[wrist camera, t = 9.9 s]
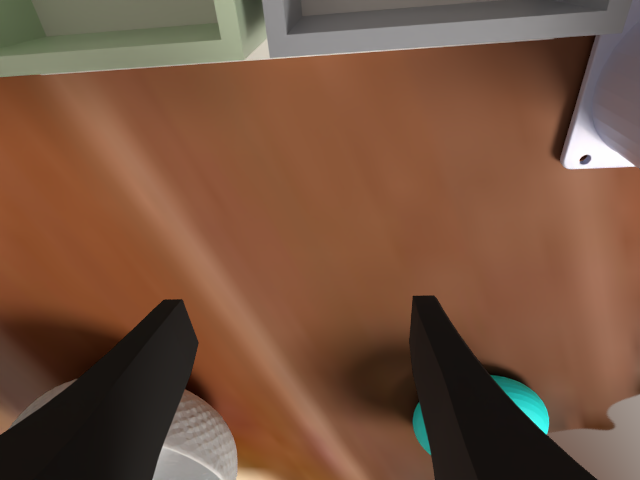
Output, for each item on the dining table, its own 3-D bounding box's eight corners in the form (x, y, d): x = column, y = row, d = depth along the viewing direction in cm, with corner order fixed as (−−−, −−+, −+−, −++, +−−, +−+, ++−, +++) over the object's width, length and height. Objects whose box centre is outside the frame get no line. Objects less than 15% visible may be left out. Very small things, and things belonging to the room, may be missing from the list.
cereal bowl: (100, 450, 40) (59, 532, 34) (14, 339, 31) (-64, 427, 25) (265, 452, 38) (250, 539, 33) (227, 336, 29) (197, 429, 23)
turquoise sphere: (490, 593, 28) (398, 550, 24) (458, 450, 36) (385, 402, 32) (638, 564, 23) (552, 506, 20) (563, 408, 32) (492, 347, 28)
